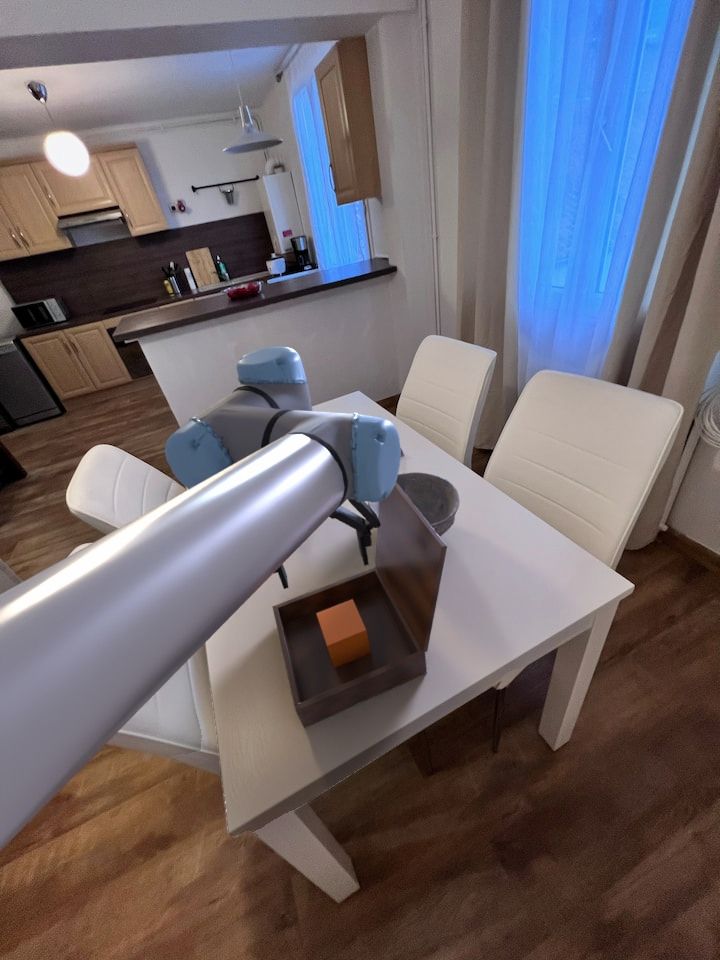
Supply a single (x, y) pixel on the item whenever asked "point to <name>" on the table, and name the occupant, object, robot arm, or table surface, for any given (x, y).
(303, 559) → the table surface
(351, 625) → the cube
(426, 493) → the bowl
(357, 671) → the box
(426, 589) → the lid
